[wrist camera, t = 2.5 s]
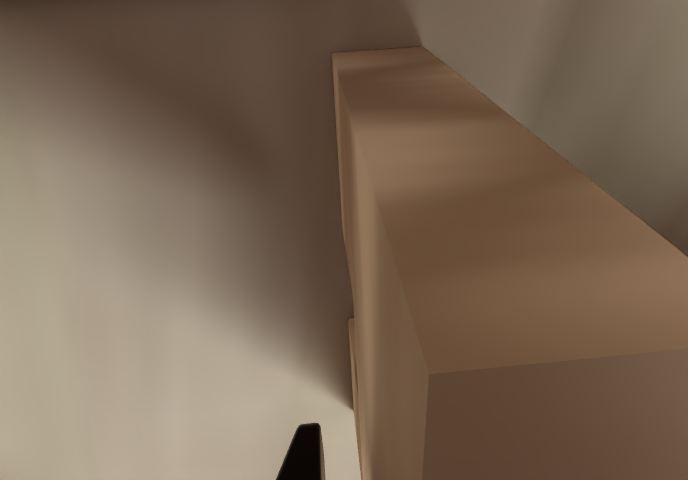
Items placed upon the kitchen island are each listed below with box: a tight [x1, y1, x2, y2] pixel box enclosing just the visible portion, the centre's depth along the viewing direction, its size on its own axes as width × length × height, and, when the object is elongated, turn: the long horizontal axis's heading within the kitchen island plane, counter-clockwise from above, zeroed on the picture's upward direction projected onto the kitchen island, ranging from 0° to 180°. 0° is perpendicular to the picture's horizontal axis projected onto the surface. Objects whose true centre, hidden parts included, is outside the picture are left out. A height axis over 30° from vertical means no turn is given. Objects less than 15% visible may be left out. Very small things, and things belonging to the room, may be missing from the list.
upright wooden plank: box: [332, 47, 688, 480], centre depth 10 cm, size 2×12×9 cm, turn 3°
